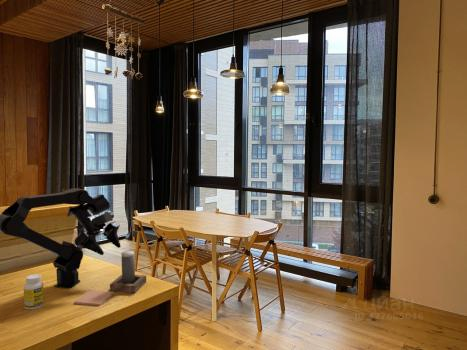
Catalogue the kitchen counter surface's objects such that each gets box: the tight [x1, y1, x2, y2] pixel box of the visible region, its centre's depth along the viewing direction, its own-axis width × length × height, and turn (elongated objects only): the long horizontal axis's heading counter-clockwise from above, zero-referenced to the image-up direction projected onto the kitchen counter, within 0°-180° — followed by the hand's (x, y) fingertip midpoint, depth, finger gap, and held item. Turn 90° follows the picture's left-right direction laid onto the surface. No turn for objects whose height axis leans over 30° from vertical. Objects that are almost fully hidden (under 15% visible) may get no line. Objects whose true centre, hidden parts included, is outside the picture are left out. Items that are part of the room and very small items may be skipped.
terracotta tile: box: [73, 289, 115, 307], centre depth 116 cm, size 9×9×1 cm
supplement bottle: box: [23, 273, 45, 310], centre depth 110 cm, size 5×5×10 cm
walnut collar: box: [109, 274, 147, 294], centre depth 126 cm, size 10×10×2 cm
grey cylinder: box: [121, 250, 136, 284], centre depth 126 cm, size 4×4×13 cm
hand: (111, 250), depth 128 cm, fingers open, 9 cm apart
